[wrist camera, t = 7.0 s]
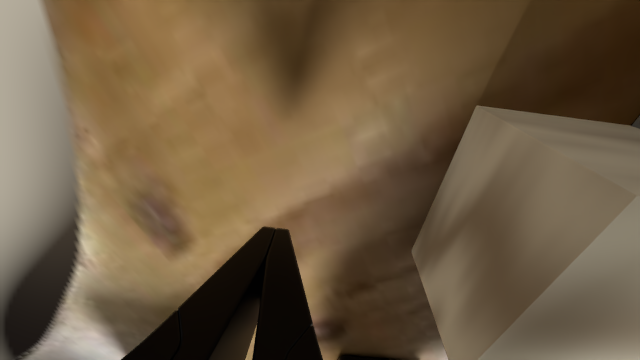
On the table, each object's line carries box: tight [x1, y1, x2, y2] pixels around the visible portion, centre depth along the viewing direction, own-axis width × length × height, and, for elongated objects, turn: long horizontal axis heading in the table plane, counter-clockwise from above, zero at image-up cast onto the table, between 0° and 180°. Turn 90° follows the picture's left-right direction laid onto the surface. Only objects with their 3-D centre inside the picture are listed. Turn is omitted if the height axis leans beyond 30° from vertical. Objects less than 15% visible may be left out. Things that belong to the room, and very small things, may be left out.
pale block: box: [411, 105, 640, 360], centre depth 9 cm, size 8×6×6 cm
